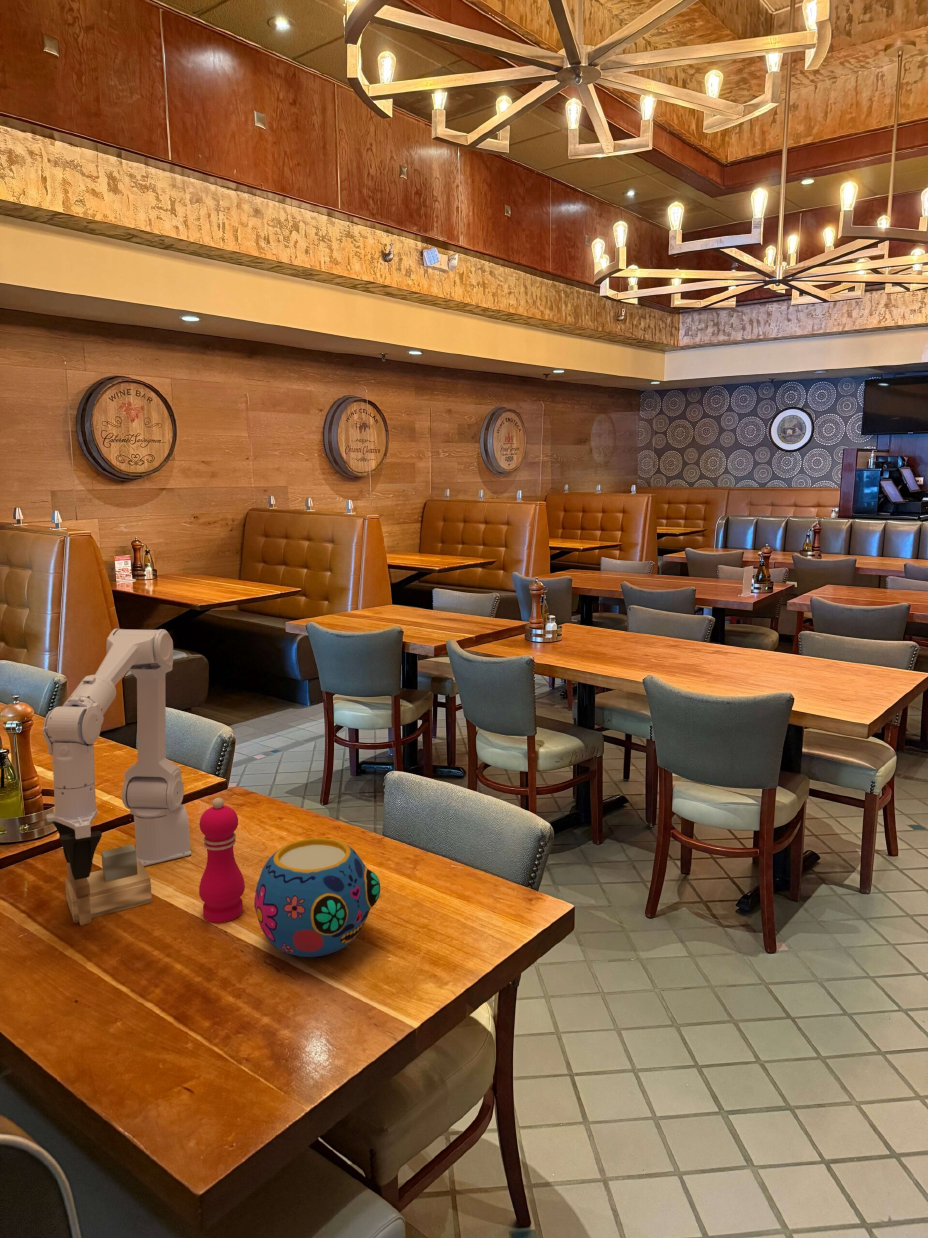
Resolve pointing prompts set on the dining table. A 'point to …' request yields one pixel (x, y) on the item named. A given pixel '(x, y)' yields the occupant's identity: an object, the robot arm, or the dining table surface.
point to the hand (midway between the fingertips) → (77, 869)
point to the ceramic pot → (314, 897)
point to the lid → (115, 873)
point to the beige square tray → (108, 903)
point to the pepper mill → (220, 865)
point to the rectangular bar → (78, 884)
